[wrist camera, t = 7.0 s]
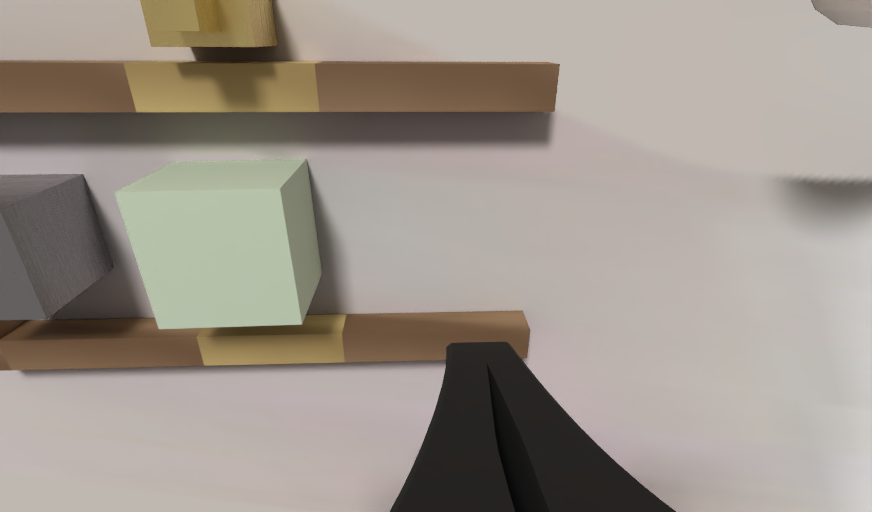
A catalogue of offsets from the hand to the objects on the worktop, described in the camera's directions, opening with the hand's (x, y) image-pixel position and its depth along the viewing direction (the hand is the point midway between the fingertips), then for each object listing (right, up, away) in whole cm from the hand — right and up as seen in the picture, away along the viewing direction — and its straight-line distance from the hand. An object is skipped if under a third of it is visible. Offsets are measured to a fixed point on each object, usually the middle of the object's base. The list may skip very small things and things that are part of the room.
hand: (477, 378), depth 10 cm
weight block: (-16, +4, +8) cm, 19 cm away
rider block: (-8, +4, +9) cm, 13 cm away
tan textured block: (-8, +11, +5) cm, 14 cm away
